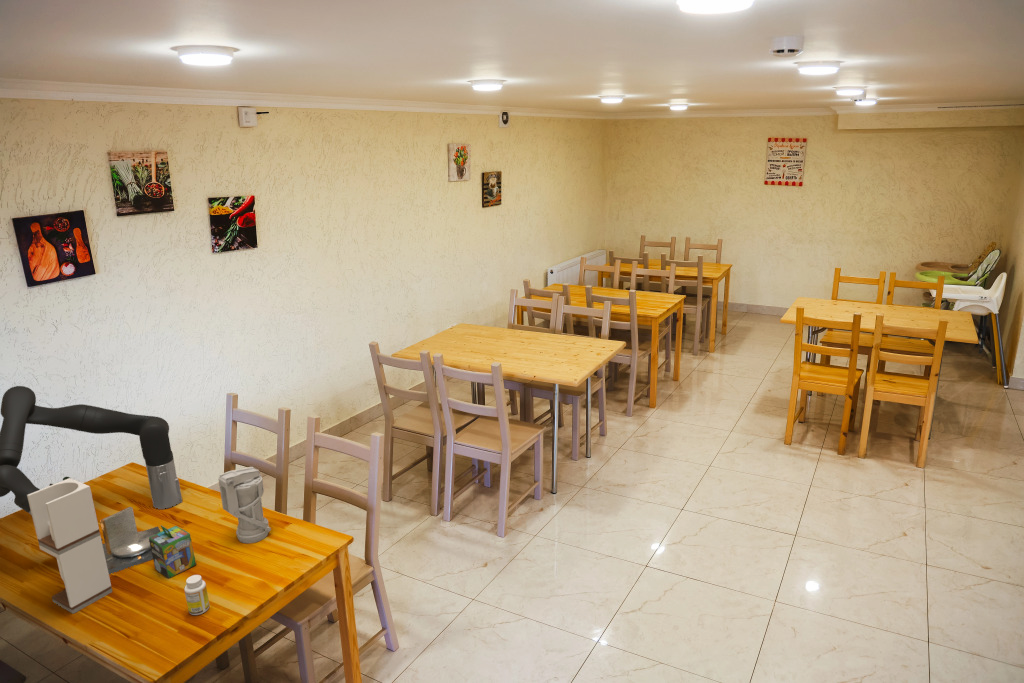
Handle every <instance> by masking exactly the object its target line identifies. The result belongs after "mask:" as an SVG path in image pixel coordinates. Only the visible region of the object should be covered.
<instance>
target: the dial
mask: <svg viewBox="0 0 1024 683" xmlns="http://www.w3.org/2000/svg"><path fill="white" fill-rule="evenodd" d="M134 514H135V513H134V509H133V506H129V507H126V508H124V509H122V510H120V511H118V512H116V513H113V514H111V515H108V516H107V517H104V518H102V519H100V520H99V521H100V526H101V531H102V535H103V540H104V544H105V545H106V550H107V554H109V555H111V554H112V555H114V556H116V557H122V558H123V557H132V556H136V555H139V554H141V553H144V552H146V551H148V550H149V549H151V547H150V542H149V537H151V536H154V535H155V534H154V533H152V532H148V531H145V530H141V531H138V529H137V523H136V518H135V515H134Z"/></svg>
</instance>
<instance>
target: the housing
mask: <svg viewBox="0 0 1024 683" xmlns="http://www.w3.org/2000/svg"><path fill="white" fill-rule="evenodd" d="M144 531H148V532H152V533H154V534H155V535H156V534H158V533H159V532H162V531H161V530H160V528H159V526H155V527H151V528H148V529H145V530H144ZM102 545H103V550H104V555H105V559H106V564H107V568H108V573H109V575H112V574H114V572H115V573H117V572H120V571H123V570H126V569H128V567H129V568H132V567H134V565H135V566H138V565H140V564H144V563H146V562H150V561H152V560H153V556H152V551H151V549H149V550H148V551H146V552H144V553H141V554H139V555H136V556H132V557H123V558H122V557H116V556H114V555H112V554H111V555H109V554H107V550H106V545H105V543H102ZM131 566H132V567H131ZM125 568H126V569H125ZM119 570H120V571H119ZM111 573H112V574H111Z"/></svg>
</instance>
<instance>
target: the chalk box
mask: <svg viewBox="0 0 1024 683" xmlns="http://www.w3.org/2000/svg"><path fill="white" fill-rule="evenodd" d="M160 528H161V529H162V531H161V532H159V533H158V534H156V535H154V536H151V537H149V542H150V547H151V551H152V556H153V559H152V560H153V565H154V569H155V570H156V571H157V572H158V573H160V574H161V575H163V576H164V577H165V578H167V579H168V580H169V579H171V578H173V577H175V576H176V575H179V574H181V573H182V572H184V571H186V570H188V569H190V568H192V567H194V566H196V565H197V561H196V557H195V552H194V548H193V543H192V538H191V537H192V536H191V533H190V532H188V531H186V530H185V529H183V528H182V527H179V526H177V525H175V526H172V527H169V528H166V527H165V526H163V525H162V524H161V525H160Z"/></svg>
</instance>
